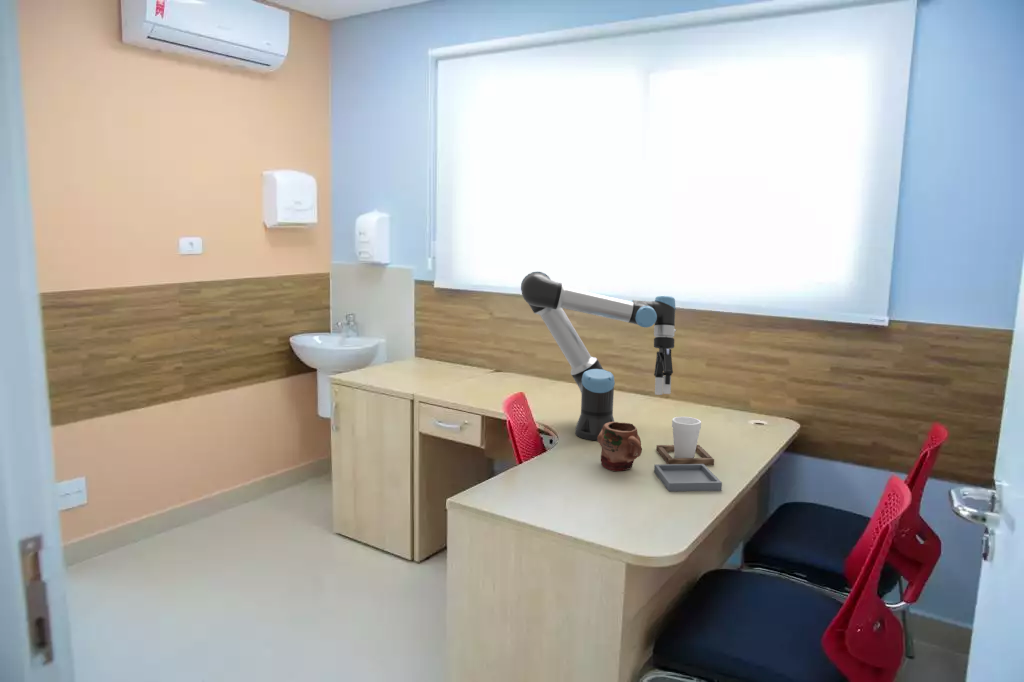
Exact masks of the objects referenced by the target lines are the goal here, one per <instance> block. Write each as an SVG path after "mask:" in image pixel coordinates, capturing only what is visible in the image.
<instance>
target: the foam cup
mask: <svg viewBox="0 0 1024 682" xmlns="http://www.w3.org/2000/svg"><path fill="white" fill-rule="evenodd" d="M671 419H672V420H671V428H672V438H673V439H672V440H673V445H674V452H673V454H674V458H695V456H696V452H695V451H696V446H697V445H698V440H699V435H700V431H701V428H702V420H700V419H698V418H696V417H691V416H675V417H673V418H671Z"/></svg>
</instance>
